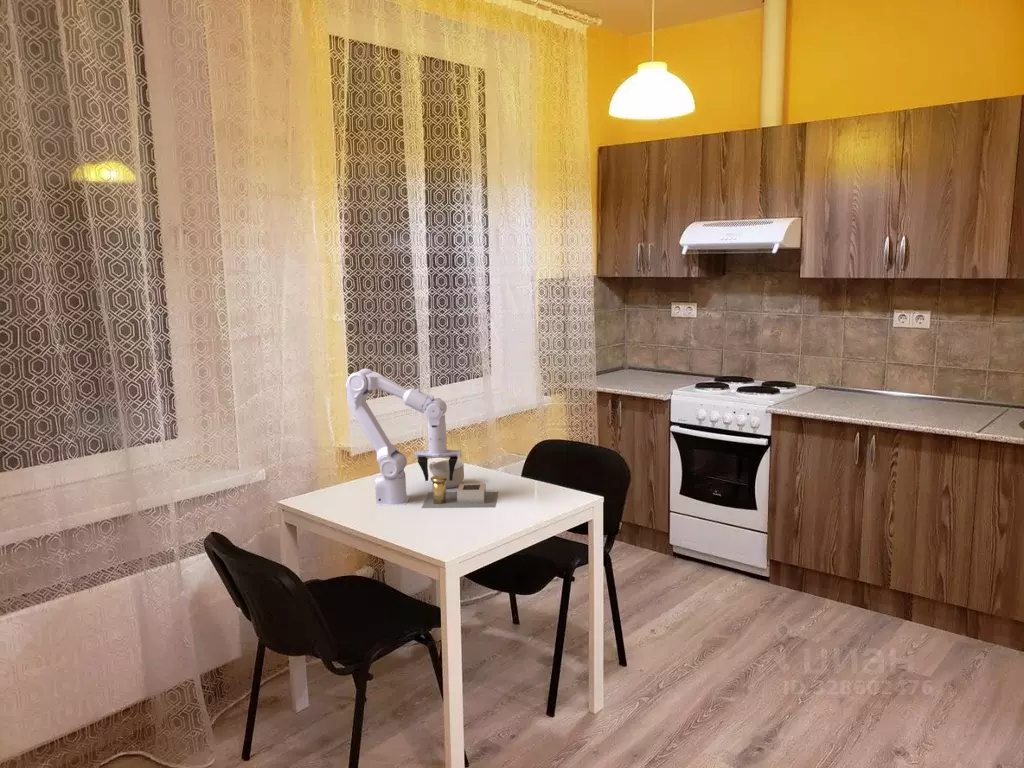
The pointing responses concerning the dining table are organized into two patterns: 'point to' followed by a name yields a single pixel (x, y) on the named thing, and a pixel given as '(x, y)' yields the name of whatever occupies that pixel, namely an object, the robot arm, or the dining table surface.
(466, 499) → the block
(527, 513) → the dining table surface
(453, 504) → the mat
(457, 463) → the teacup
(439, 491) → the brass door knob
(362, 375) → the robot arm
